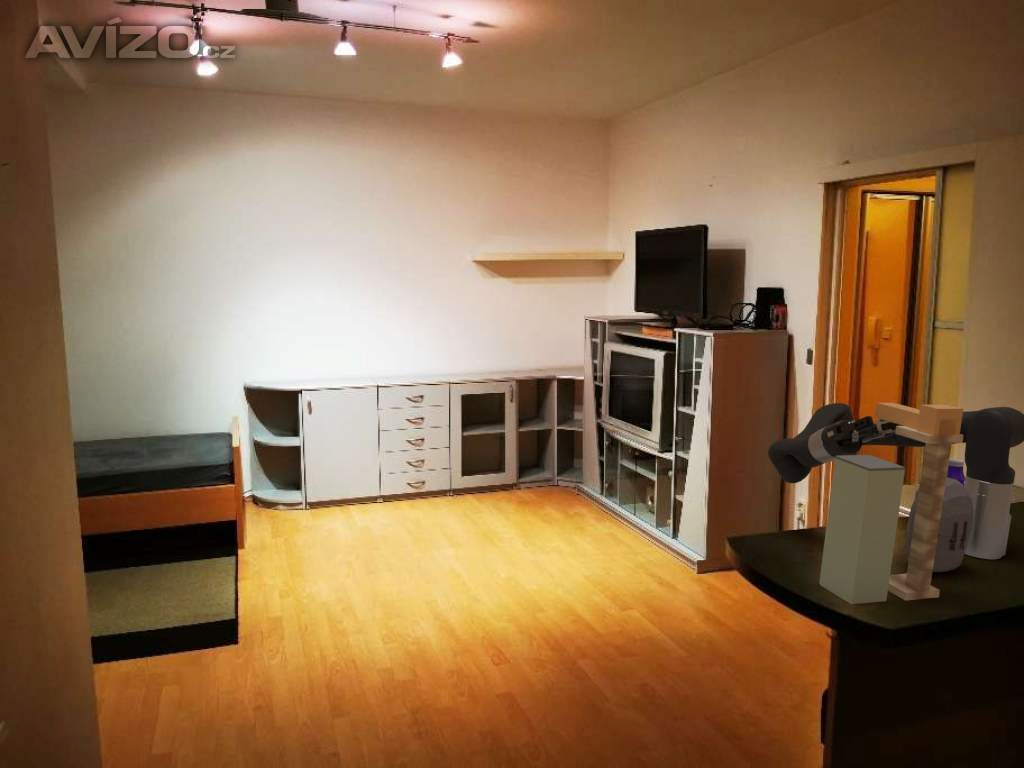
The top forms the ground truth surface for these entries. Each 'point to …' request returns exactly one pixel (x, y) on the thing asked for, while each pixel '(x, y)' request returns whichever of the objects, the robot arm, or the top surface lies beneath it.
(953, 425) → the orange wooden block
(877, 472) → the tall grey-green pillar
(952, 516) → the soft grey pack
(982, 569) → the top surface
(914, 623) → the top surface
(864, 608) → the top surface
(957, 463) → the bottle
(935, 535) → the tan table
